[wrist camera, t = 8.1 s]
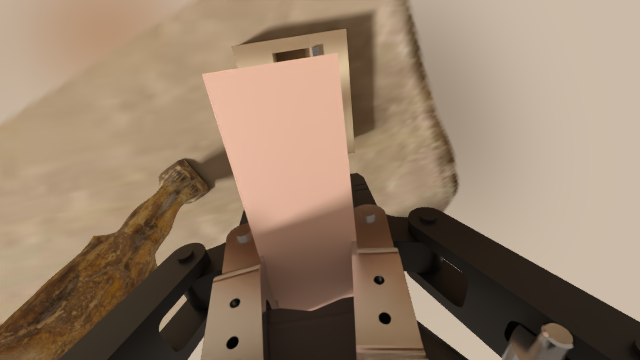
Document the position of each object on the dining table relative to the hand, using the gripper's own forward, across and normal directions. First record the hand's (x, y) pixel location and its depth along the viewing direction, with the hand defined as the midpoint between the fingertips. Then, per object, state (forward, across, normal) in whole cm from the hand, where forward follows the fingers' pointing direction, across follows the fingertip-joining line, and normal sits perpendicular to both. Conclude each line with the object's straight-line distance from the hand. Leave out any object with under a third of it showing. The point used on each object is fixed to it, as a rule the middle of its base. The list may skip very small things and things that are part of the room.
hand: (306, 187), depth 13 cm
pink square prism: (+4, 0, 0) cm, 4 cm away
